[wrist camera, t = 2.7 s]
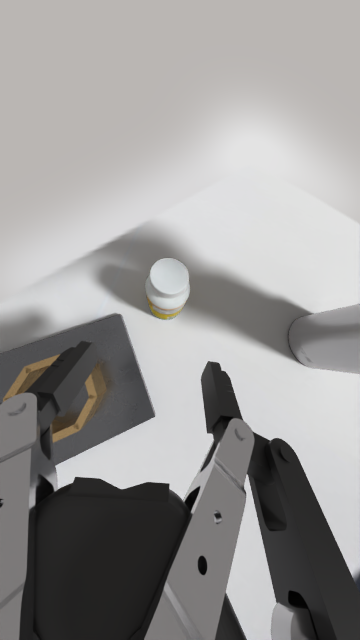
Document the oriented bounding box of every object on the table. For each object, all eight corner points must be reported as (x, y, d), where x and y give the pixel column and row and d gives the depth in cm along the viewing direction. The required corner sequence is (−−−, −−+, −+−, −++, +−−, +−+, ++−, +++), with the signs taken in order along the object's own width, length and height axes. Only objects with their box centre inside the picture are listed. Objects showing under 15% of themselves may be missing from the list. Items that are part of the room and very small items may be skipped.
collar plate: (122, 315, 23) (114, 308, 19) (155, 413, 21) (154, 428, 17) (-17, 361, 19) (-61, 364, 15) (8, 484, 17) (-37, 524, 13)
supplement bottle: (176, 324, 23) (187, 308, 14) (144, 314, 23) (133, 290, 14) (185, 294, 25) (201, 262, 15) (155, 284, 24) (152, 244, 15)
